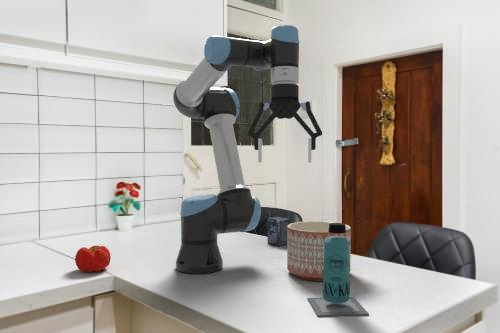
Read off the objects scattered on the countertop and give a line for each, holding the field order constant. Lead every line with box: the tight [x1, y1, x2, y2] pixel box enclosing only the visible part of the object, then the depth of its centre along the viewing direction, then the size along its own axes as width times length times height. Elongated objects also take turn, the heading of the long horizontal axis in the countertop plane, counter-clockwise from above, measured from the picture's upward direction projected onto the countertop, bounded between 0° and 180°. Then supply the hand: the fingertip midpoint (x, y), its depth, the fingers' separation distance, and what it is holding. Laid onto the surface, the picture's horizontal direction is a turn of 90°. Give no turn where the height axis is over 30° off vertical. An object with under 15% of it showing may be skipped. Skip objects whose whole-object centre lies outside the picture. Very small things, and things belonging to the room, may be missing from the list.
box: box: [267, 216, 291, 247], centre depth 181 cm, size 8×6×11 cm
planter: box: [286, 220, 352, 282], centre depth 137 cm, size 19×19×15 cm
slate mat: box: [306, 296, 370, 318], centre depth 109 cm, size 12×12×1 cm
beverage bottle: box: [322, 222, 351, 303], centre depth 108 cm, size 6×7×20 cm
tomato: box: [74, 245, 112, 273], centre depth 142 cm, size 11×11×8 cm
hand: (284, 162), depth 123 cm, fingers open, 13 cm apart
